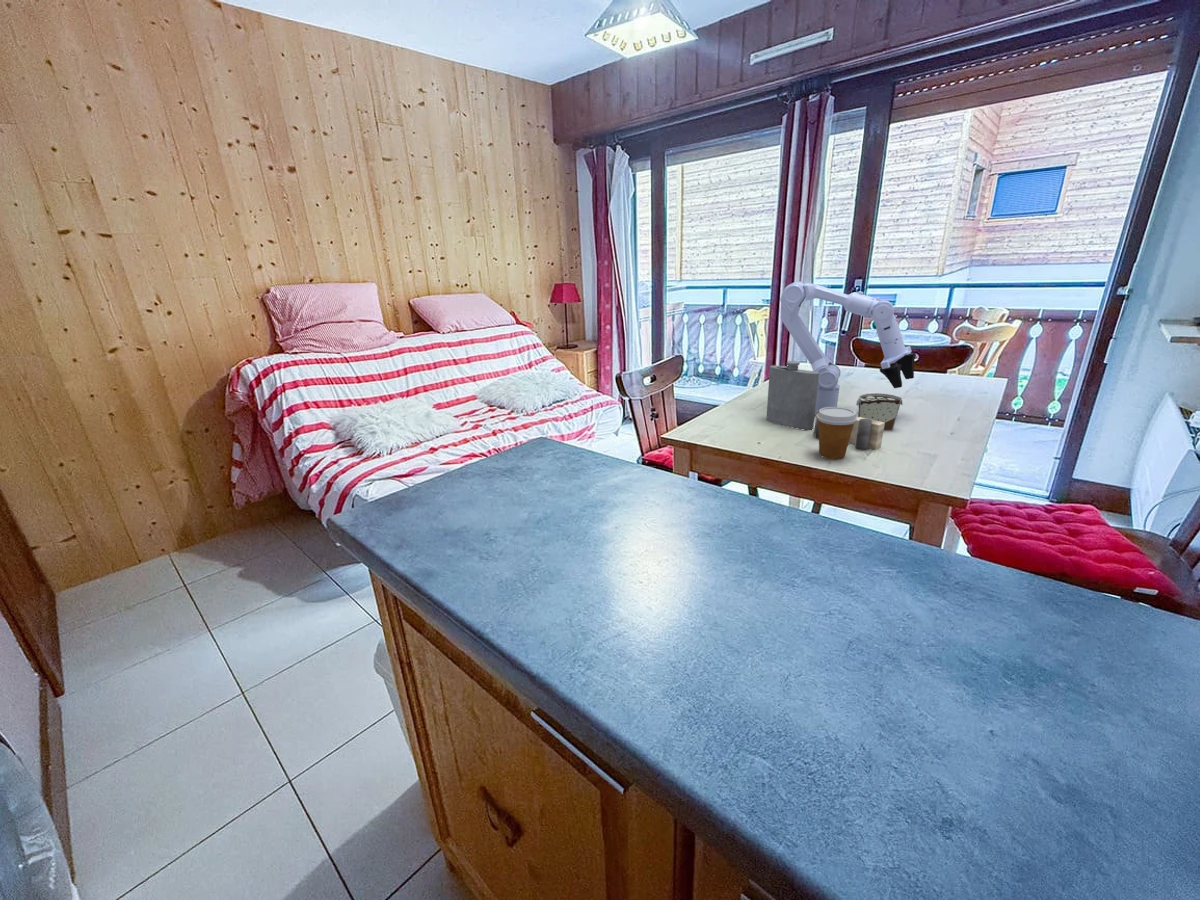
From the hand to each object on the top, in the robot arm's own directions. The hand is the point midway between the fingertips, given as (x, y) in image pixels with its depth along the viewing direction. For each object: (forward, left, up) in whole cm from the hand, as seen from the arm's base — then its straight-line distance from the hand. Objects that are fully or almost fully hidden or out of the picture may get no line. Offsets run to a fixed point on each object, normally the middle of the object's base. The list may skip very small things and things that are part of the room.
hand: (904, 382), depth 151 cm
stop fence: (-2, -28, -12) cm, 30 cm away
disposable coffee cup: (+1, -39, -12) cm, 41 cm away
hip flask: (-21, -26, -12) cm, 35 cm away
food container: (-2, -12, -12) cm, 17 cm away
